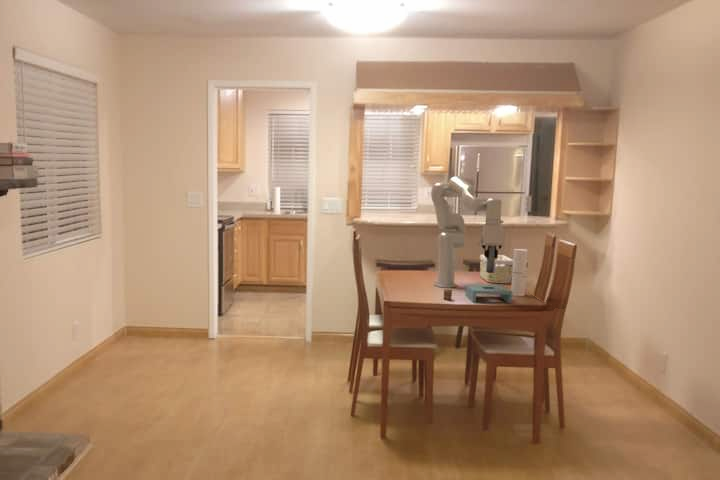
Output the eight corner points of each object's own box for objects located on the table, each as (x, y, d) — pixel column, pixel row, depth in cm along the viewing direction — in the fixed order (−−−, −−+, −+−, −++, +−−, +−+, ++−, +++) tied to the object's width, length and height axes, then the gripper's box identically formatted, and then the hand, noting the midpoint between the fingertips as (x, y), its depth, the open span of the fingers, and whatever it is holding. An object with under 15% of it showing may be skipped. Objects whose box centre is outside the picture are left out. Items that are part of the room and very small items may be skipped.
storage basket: (477, 276, 361) (479, 253, 359) (502, 277, 361) (504, 254, 359) (486, 283, 337) (488, 259, 335) (513, 284, 337) (515, 260, 335)
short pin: (442, 298, 292) (443, 289, 291) (450, 298, 292) (450, 289, 291) (444, 300, 288) (444, 290, 287) (452, 300, 288) (452, 291, 287)
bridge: (465, 295, 301) (466, 284, 300) (502, 296, 302) (503, 285, 301) (472, 302, 285) (473, 290, 284) (511, 303, 286) (512, 291, 285)
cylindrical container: (509, 293, 311) (512, 248, 308) (521, 293, 311) (524, 248, 308) (513, 296, 304) (516, 250, 301) (526, 296, 304) (529, 250, 301)
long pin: (485, 271, 293) (486, 245, 292) (492, 271, 294) (494, 245, 292) (487, 272, 289) (488, 245, 288) (494, 273, 290) (496, 246, 288)
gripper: (506, 222, 293) (504, 257, 295) (475, 221, 292) (473, 256, 294) (511, 223, 285) (508, 259, 287) (478, 222, 285) (476, 258, 287)
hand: (490, 257), depth 291 cm, fingers closed on long pin, 4 cm apart
